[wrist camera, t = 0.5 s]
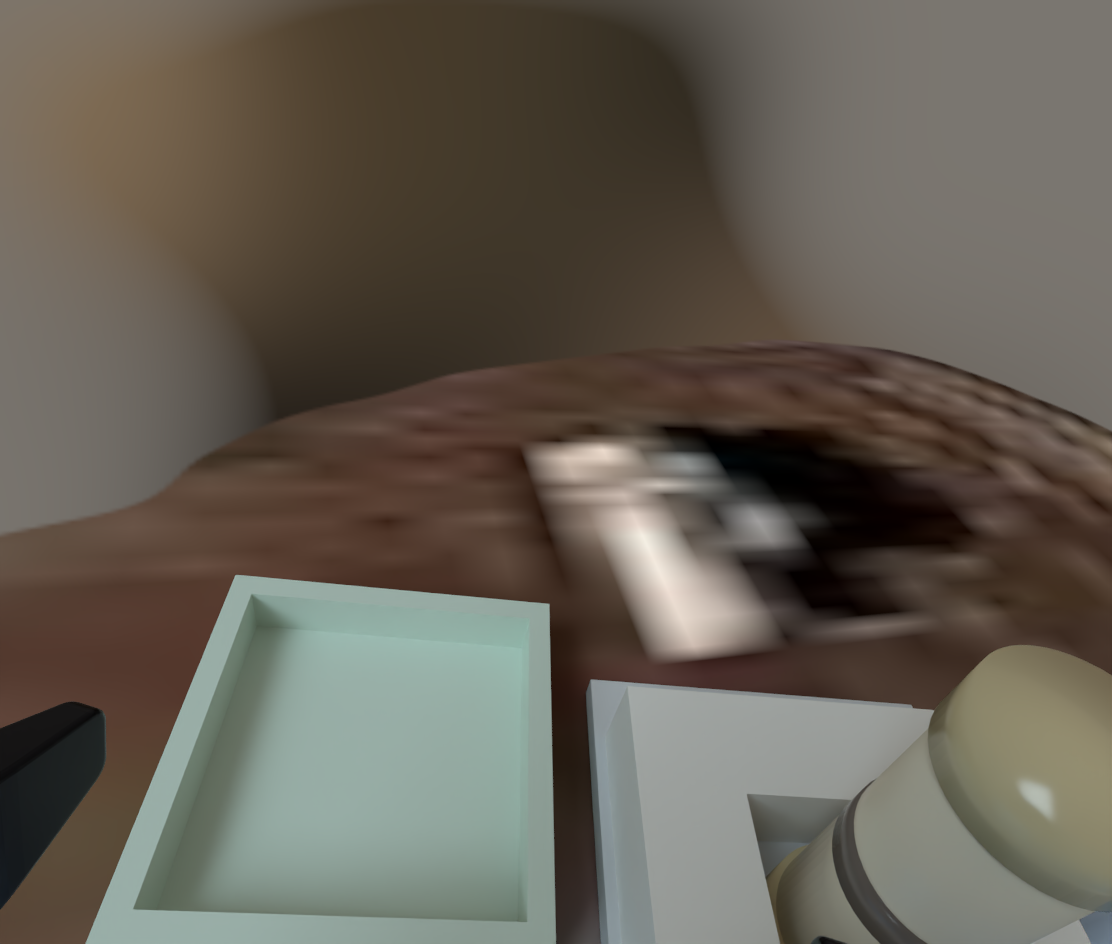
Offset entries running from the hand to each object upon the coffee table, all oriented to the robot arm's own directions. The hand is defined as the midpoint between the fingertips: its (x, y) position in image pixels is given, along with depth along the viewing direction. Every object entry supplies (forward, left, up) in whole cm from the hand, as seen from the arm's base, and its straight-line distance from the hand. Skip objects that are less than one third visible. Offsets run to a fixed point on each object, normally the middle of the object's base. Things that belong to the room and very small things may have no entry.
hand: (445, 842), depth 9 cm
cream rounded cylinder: (+3, -13, -15) cm, 20 cm away
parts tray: (+8, +2, -16) cm, 18 cm away
